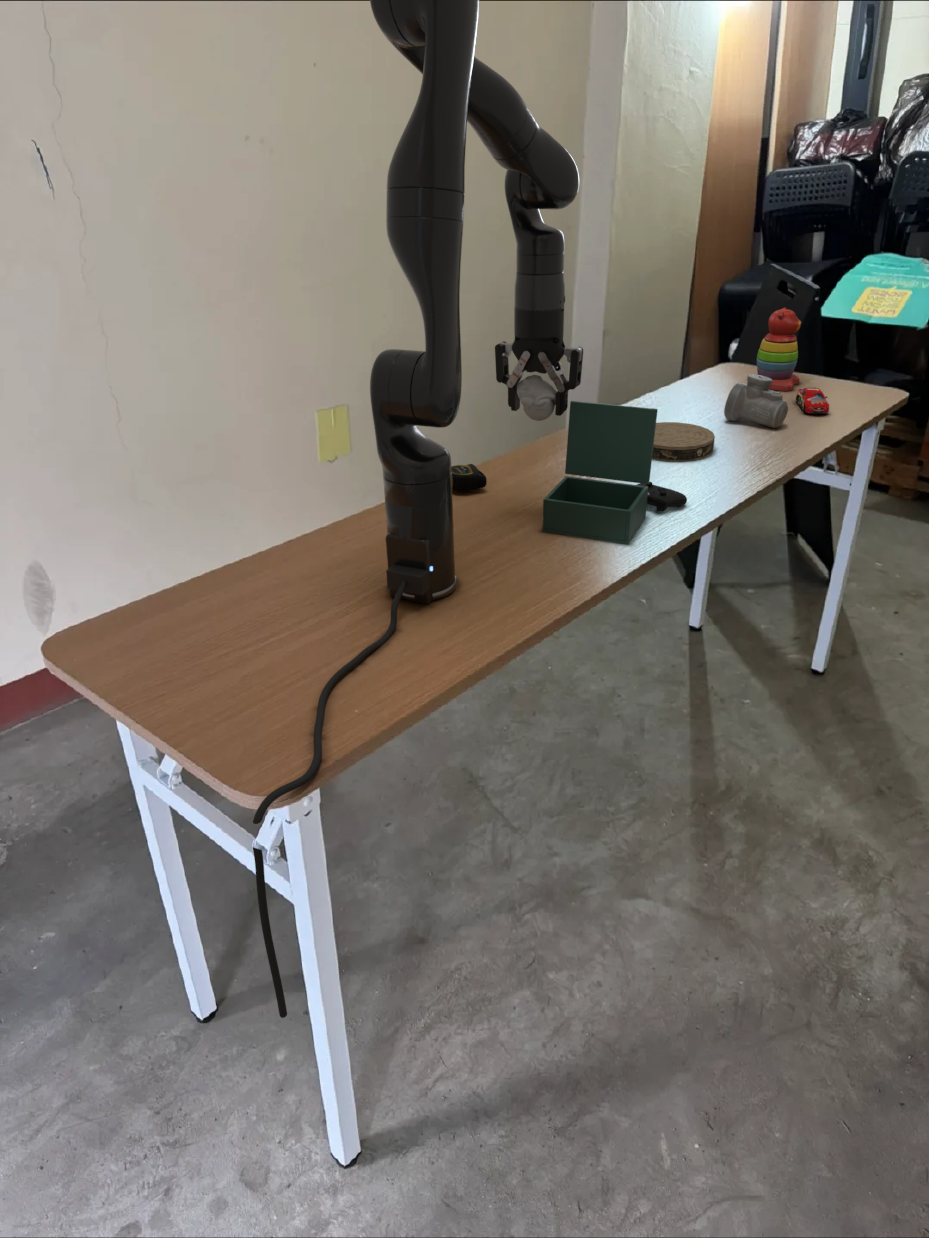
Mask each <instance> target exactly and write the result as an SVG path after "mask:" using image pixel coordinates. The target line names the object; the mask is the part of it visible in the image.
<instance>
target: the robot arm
mask: <svg viewBox="0 0 929 1238" xmlns="http://www.w3.org/2000/svg"><path fill="white" fill-rule="evenodd" d="M369 3H370V8H371V12H372V15H373V19H374V20H375V22H376V24H377V26H378V28H379V30H380V31H381V33H382V34H383V36H384V37H385V38H386V39H387V41H388V42H389V43H390V44H391V46H393V47H394V48H395V50H397V52H399V53H400V55H402V57H404V58H405V60H407V61H408V63H410V64H411V65H412V66H413V67H414V68H415V69H416V70H418V72H420V74H421V75H422V78H421V84H420V88H419V92H418V95H417V99H416V101H415V105H414V108H413V110H412V112H411V114H410V117H409V118H408V121H407V123H406V125H405V127H404V129H403V132H402V134H401V136H400V138H399V140H398V142H397V145H396V147H395V149H394V151H393V153H392V157H391V159H390V162H389V166H388V168H387V169H388V170H387V175H386V202H385V203H386V204H385V205H386V206H385V207H386V212H385V213H386V216H385V217H386V219H385V222H386V223H385V224H386V225H385V226H386V235H387V239H388V242H389V245H390V248H391V250H392V253H393V254H394V257H395V259H396V261H397V263H398V266H399V268H400V269H401V271H402V273H403V274H404V277H405V278H406V280H407V283H408V285H409V287H410V288H411V291H412V292H413V293H414V297H415V298H416V301H417V304H418V306H419V309H420V314H421V318H422V322H423V323H422V324H423V329H424V330H423V332H424V344H425V345H424V346H425V347H424V349H425V350H414V349H413V350H412V349H403V348H402V349H400V348H399V349H398V348H390V349H389V348H388V349H385V350H383V351H381V352H380V353H378V355H377V356H376V357H375V359H374V361H373V363H372V367H371V371H370V375H369V376H370V377H369V399H370V406H371V414H372V421H373V428H374V429H373V430H374V437H375V444H376V452H377V456H378V460H379V462H380V464H381V469H382V477H383V491H384V508H385V519H386V520H385V521H386V535H385V548H386V560H387V562H386V563H387V569H386V571H385V573H386V582H387V583H386V584H387V585H386V586H387V589H388V590H389V596H390V597H392V598H393V600H392V603H391V607H390V622H389V626H388V628H387V630H386V632H385V633H384V634H383V636H381V637H380V638H379V639H378V640H376V641H374V642H373V643H372V644H369V645H367V647H365V648H364V649H362V651H361V652H359V654H357V655H356V656H355V657H353V658H352V659H351V660H350V661H349V662H347V663H346V664H345V665H343V666H342V667H341V668H340V669H338V670H337V671H336V672H335V673H334V674H333V675H332V676H331V677H330V678H329V680H327V682H326V684H325V685H324V687H323V689H322V691H321V692H320V694H319V697H318V702H317V709H316V715H315V722H314V728H313V746H314V748H313V749H314V750H313V758H312V761H311V763H310V766H309V767H308V769H307V771H306V772H305V773H304V774H302V775H301V776H299V777H298V778H296V779H294V780H292V781H290V782H288V783H285V784H284V785H281V786H279V787H277V788H275V789H274V790H273V791H272V792H270V793H269V794H268V795H266V796H265V798H264V799H263V800H262V801H261V803H260V804H259V806H258V808H257V809H256V812H255V814H254V817H253V820H252V823H253V825H258V824H260V823H262V821H263V818H264V816H265V814H266V812H267V811H268V809H269V808H270V806H271V805H272V804H273V803H274V802H275V801H276V800H277V799H279V798H280V797H282V796H284V795H285V794H288V793H290V792H293V791H294V790H296V789H298V788H300V787H302V786H304V785H305V784H307V783H308V782H309V781H310V780H311V779H312V778H313V777H314V776H315V774H316V772H317V771H318V769H319V767H320V764H321V761H322V758H323V757H322V756H323V743H322V730H323V724H324V718H325V708H326V703H327V699H328V697H329V695H330V692H331V690H332V689H333V687H335V684H336V683H337V682H338V681H339V680H340V679H341V678H342V677H343V676H344V675H345V674H347V673H348V672H349V671H351V669H353V668H355V667H356V665H358V664H359V663H361V662H362V661H363V660H364V659H365V658H366V657H367V656H369V655H370V654H371V653H372V652H374V651H376V650H377V649H378V648H380V647H382V646H383V645H384V644H386V642H388V640H389V639H390V638H391V637H392V635H393V634H394V632H395V630H396V627H397V623H398V609H399V604H400V601H401V600H407V601H412V602H417V603H420V604H421V603H422V604H431V602H433V601H435V600H439V599H442V598H445V597H447V596H449V595H450V594H452V593H453V592H454V591H455V589H456V587H457V576H456V563H455V561H456V560H455V535H454V507H453V506H454V505H453V504H454V503H453V490H452V473H451V467H452V457H451V453H450V452H449V450H448V449H447V448H446V447H444V446H443V445H442V444H440V443H438V442H436V441H434V440H433V439H431V438H430V437H428V436H427V435H425V434H424V433H423V432H422V431H421V430H420V428H419V427H427V428H437V429H439V428H447V427H449V426H451V425H452V423H453V422H454V421H455V419H456V418H457V415H458V412H459V410H460V404H461V399H462V386H463V385H462V383H463V382H462V380H463V379H462V377H463V375H462V373H463V371H462V369H463V368H462V367H463V366H462V341H461V340H462V339H461V337H462V336H461V311H460V310H461V307H460V305H461V303H460V301H461V300H460V297H461V296H460V293H461V292H460V291H461V267H462V266H461V265H462V249H463V248H462V247H463V237H464V235H463V234H464V219H465V217H464V216H465V195H466V194H465V192H466V190H465V189H466V188H465V186H466V184H465V183H466V181H465V179H466V177H465V175H466V174H465V173H466V171H465V170H466V150H467V149H466V147H467V130H468V124H469V125H470V127H471V128H472V130H473V131H474V132H475V134H476V135H477V137H478V138H479V139H480V141H481V142H482V144H483V145H484V147H485V148H486V150H487V151H488V152H489V154H490V155H491V157H492V158H493V160H494V161H495V162H496V163H497V164H498V165H499V166H500V167H501V168H502V169H504V170H506V172H505V175H504V184H503V185H504V196H505V201H506V204H507V205H506V206H507V209H508V213H509V217H510V221H511V227H512V230H513V234H514V238H515V244H516V252H515V253H516V255H515V256H516V257H515V260H516V261H515V266H516V268H515V269H516V270H515V271H516V273H515V283H514V300H513V301H514V307H513V309H514V310H513V311H514V317H513V318H514V319H513V320H514V322H513V323H514V326H513V327H514V330H513V333H514V341H513V343H511V342H507V341H505V340H502V341H501V342H499V343H497V344H495V346H494V360H495V379H496V381H497V383H499V384H501V383H502V384H503V385H505V386H506V387H507V405H508V407H509V408H510V410H511V411H513V412H517V411H518V410H519V409H520V407H521V400H520V399H519V397H518V394H517V384H518V383H519V382H520V381H522V378H523V377H524V375H525V374H526V373H535V372H536V373H538V374H545V375H546V374H547V375H548V378H549V379H550V381H552V382H553V385H554V386H555V389H556V391H557V392H556V405H555V408H554V413H555V416H562V415H563V414H564V413H565V412H566V411H567V409H568V407H569V406H568V405H569V401H568V400H569V391H570V390H572V391H573V390H575V389H576V388H577V387H579V386H580V385H581V383H582V372H583V371H582V370H583V361H584V360H583V359H584V348H583V347H582V346H578V347H569V346H566V344H565V342H564V333H565V332H564V331H565V330H564V328H565V303H566V295H565V294H566V286H565V275H564V273H565V272H564V271H565V269H564V266H565V236H564V233H563V232H562V230H560V229H558V228H556V227H554V226H552V225H548V224H547V223H545V222H544V219H543V218H542V215H541V214H542V213H541V212H540V211H541V210H552V211H553V210H554V211H555V210H557V211H558V210H562V209H565V208H567V207H569V206H570V205H571V204H572V203H573V202H574V201H575V199H576V197H577V195H578V193H579V190H580V189H579V188H580V175H579V169H578V166H577V164H576V162H575V159H574V158H573V157H572V155H571V154H570V153H569V151H568V150H567V149H566V148H565V147H564V145H562V144H561V143H560V142H559V141H558V140H557V139H555V138H554V137H553V136H552V135H551V134H550V133H549V132H548V131H546V130H545V129H544V128H542V127H541V126H540V125H539V124H538V122H537V121H536V119H535V117H534V116H533V114H532V112H531V110H530V109H529V107H528V105H527V104H526V103H525V101H524V99H523V97H522V96H521V94H520V93H519V92H518V91H517V89H515V87H514V86H513V84H511V83H510V81H508V80H507V79H506V78H505V77H503V76H502V75H501V74H499V73H498V72H497V71H496V70H494V69H492V68H491V67H490V66H488V65H487V64H485V62H483V61H481V60H480V59H478V58H477V57H476V56H475V51H476V43H477V35H478V25H479V14H480V0H369ZM512 353H513V355H514V356H515V358H516V360H517V361H518V362H517V363H516V365H515V366H514V369H513V370H512V371H511V374H510V367H509V366H510V365H509V357H511V355H512ZM564 356H565V357H566V361H567V362H568V364H569V373H568V378H567V376H566V374H565V369H564V367H563V366H562V363H561V359H563V357H564ZM417 426H418V427H417ZM252 852H253V858H254V859H253V860H254V868H255V883H256V893H257V903H258V913H259V918H260V925H261V931H262V936H263V942H264V946H265V951H266V952H265V953H266V956H267V961H268V965H269V969H270V974H271V978H272V982H273V987H274V993H275V997H276V1003H277V1008H278V1015H279V1017H280V1018H282V1019H284V1018H286V1017H287V1016H288V1010H287V1005H286V999H285V998H286V997H285V993H284V988H283V983H282V979H281V973H280V969H279V965H278V959H277V955H276V950H275V945H274V939H273V934H272V928H271V923H270V917H269V909H268V908H269V907H268V901H267V890H266V878H265V863H264V862H265V861H264V855H263V850H262V849H260V848H257V847H255V846H252Z"/></svg>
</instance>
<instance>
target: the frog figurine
mask: <svg viewBox="0 0 929 1238" xmlns="http://www.w3.org/2000/svg"><path fill="white" fill-rule="evenodd" d="M556 392H558V390H557V389H556V388H555V387H554V386H553V385H552V384H551V383H549V382H548V381H547V380H545V379H543V377H542V376H541V375H538V374H531V375H528V376H526V377H525V378H523V379H521V380H520V381H519V383H518V384H517V394H518V397H519V399H520V404H521V405H523V411H524V413H525V415H526V416H527V417H528V418H529V419H531V420H533V421H536V422H541V421H545V420H547V419H549V418H550V417H551V416H552V415H553V413H554V412H555V408H556Z"/></svg>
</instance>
